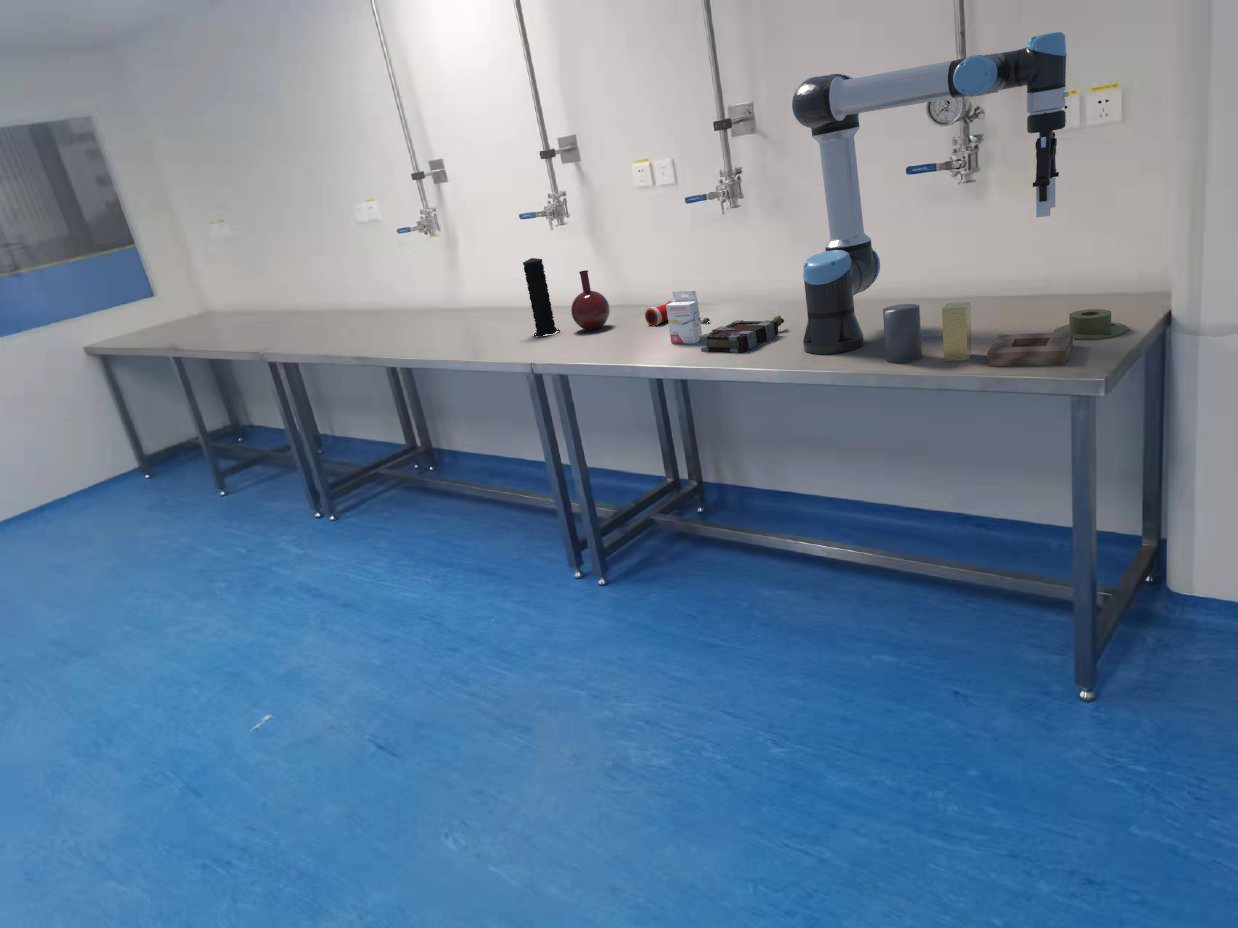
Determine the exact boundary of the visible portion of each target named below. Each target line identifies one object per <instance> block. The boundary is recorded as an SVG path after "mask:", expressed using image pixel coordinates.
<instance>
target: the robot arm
mask: <svg viewBox="0 0 1238 928" xmlns="http://www.w3.org/2000/svg"><path fill="white" fill-rule="evenodd" d="M1066 47H1067V45H1066V35H1065V34H1064V33H1063V32H1061V31H1056V32H1051V33H1050V32H1049V33H1044V34H1040V35H1034V36H1031V37H1028V38H1027V40H1026V45H1025V47H1023V48H1021V49H1020V48H1019V49H1018V50H1017V49H1016V50H1010V51H1004V52H999V53H998V52H997V53H990V54H983V55H982V54H978V55H977V54H976V55H971V56H968V57H965V58H960V59H959V58H958V59H955V60H948V61H944V62H941V61H940V62H937V63H931V64H926V65H920V66H914V67H909V68H903V69H898V70H893V71H887V72H881V73H876V74H871V75H866V76H861V77H854V78H853V77H852V76H850V75H847V74H842V73H835V74H834V73H833V74H831V73H830V74H827V75H821V76H812V77H809V78H808V79H806V80H804V81H803V82H802V83H800V85H798V87H797V88H796V89H795V91H794V94H793V95H792V101H791V109H792V112H793V116H794V117H795V119H796V120H797V122H798V123H799V124H801V125H802V126H804V127H806V128H809V129H810V130H811V137H812V139H813V140H815V141H816V142H817V143H818V144H819V153H820V154H819V155H820V162H821V163H820V164H821V169H822V171H821V172H822V179H823V187H824V195H825V205H826V212H827V220H828V230H829V240H828V241H827V243H826V244H825V247H824V248H825V251H823V252H820V253H816V254H814V255H811V256H809V257H808V258H807V259H806V260H805V261H804V263H803V267H802V269H803V273H802V279H803V284H804V294H805V302H806V312H807V323H806V327H805V331H804V335H803V343H802V344H803V351H804V352H806V353H808V354H809V353H810V354H817V355H819V354H821V355H824V354H825V355H826V354H827V355H828V354H839V353H844V352H848V351H851V350H853V351H854V350H857V349H858V348H860V347H862V346H864V343H865V340H864V339H865V338H864V337H865V335H864V333H863V331H862V328H861V326H860V324H859V321H858V319H857V317H856V313H855V312H856V311H855V302H854V296H855V295H857V294H860V293H862V292H864V291H866V290H868V289H869V288H870V287H871V285H873V284H874V283H875V282H876V280H877V279H878V277H879V274H880V271H881V261H880V258H879V255H878V253H877V251H875V250H874V248H873V247H872V246H873V245H872V238H871V237H870V236H868V235H867V234H866V233H865V228H864V221H863V220H864V219H863V209H862V201H861V191H860V181H859V180H860V179H859V171H858V163H857V153H856V142H855V135H856V134H857V132H858V131H859V130H860V120H859V119H860V118H859V115H860V114H864V113H868V112H874V111H881V110H888V109H892V108H899V107H906V106H912V105H919V104H924V103H930V102H931V103H932V102H938V101H944V100H950V99H955V98H956V99H957V98H958V99H959V98H963V97H975V96H980V95H982V94H988V93H991V92H996V91H1001V90H1009V89H1013V88H1019V87H1020V88H1021V87H1024V86H1025V87H1026V113H1028V114H1029V115H1028V116H1027V117H1026V132H1027V133H1028V134H1039V136H1038V138H1036V141H1035V158H1036V166H1035V167H1036V168H1035V170H1036V171H1035V172H1036V173H1035V181H1034V182H1032V187H1033V188H1035V190H1036V191H1035V195H1036V197H1035V201H1036V202H1035V203H1036V205H1035V206H1036V208H1035V211H1036V212H1035V213H1036V214H1035V215H1036V216H1035V217H1036V218H1044V217H1051V208H1056V178H1059V177H1060V174H1059V173H1060V172H1059V171H1057V168H1056V167H1057V166H1056V164H1057V163H1056V155H1057V145H1058V144H1057V143H1058V141H1057V139H1058V138H1056V133H1055V131H1058V130H1062V129H1064V128H1065V127H1066V116H1067V115H1066V113H1067V112H1066V111H1065V109H1063V108H1065V106H1066V97H1069V96H1070V94H1069V91H1066V87H1067V86H1066V76H1067V75H1066V73H1067V72H1066V71H1067V48H1066Z"/></svg>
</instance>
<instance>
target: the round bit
mask: <svg viewBox="0 0 1238 928" xmlns="http://www.w3.org/2000/svg"><path fill="white" fill-rule="evenodd" d="M920 309H921V307H920V305H919V304H916V303H904V304H903V303H902V304H895V305H890V306H887V307H885V308H883V309H882V316H883V317H882V318H883V319H882V320H883V329H884V330H883V331H884V332H883V333H884V334H883V335H884V345H885V346H884V347H885V362H887V363H889V364H897V365H899V364H900V365H901V364H902V365H903V364H909V363H914V362H918V361H920V360H922V359H923V349H922V330H921V329H922V328H921V311H920Z"/></svg>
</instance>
